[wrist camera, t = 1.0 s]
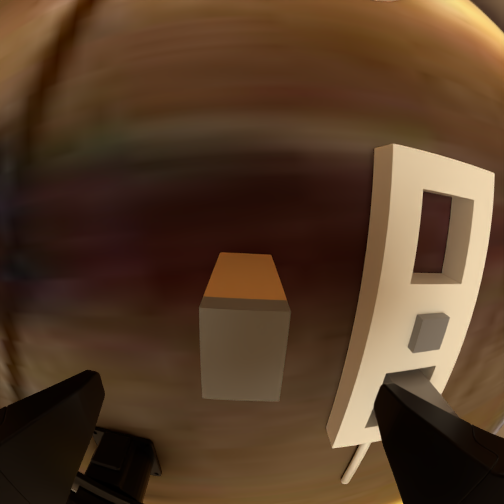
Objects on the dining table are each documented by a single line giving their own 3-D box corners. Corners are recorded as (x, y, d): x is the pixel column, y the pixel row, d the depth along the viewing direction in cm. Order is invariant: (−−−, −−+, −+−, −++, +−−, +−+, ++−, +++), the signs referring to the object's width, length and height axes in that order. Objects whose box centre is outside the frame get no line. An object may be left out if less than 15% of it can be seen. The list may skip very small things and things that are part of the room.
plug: (266, 316, 18) (279, 401, 10) (218, 313, 18) (202, 398, 10) (271, 254, 17) (291, 311, 9) (220, 252, 17) (199, 307, 9)
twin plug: (396, 395, 20) (435, 459, 12) (366, 400, 20) (401, 470, 12) (410, 358, 19) (461, 420, 11) (379, 362, 19) (426, 432, 11)
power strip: (378, 472, 23) (386, 491, 20) (304, 484, 23) (308, 506, 20) (472, 172, 16) (501, 173, 13) (374, 148, 16) (400, 141, 12)
